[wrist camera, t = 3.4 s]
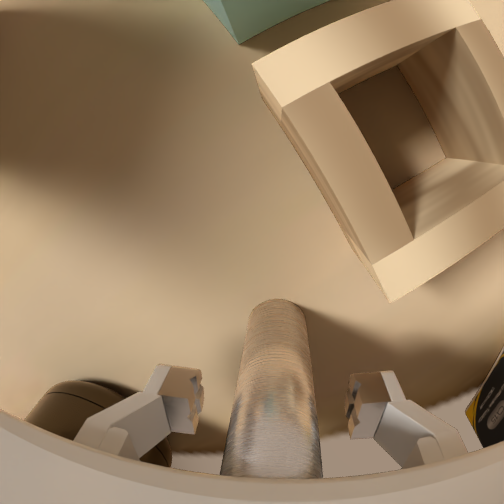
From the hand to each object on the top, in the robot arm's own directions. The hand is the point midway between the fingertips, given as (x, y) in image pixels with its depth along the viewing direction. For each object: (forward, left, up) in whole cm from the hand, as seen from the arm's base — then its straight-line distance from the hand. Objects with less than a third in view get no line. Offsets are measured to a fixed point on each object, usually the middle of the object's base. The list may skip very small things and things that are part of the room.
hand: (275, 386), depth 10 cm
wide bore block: (+8, +5, -4) cm, 10 cm away
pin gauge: (0, 0, -4) cm, 4 cm away
